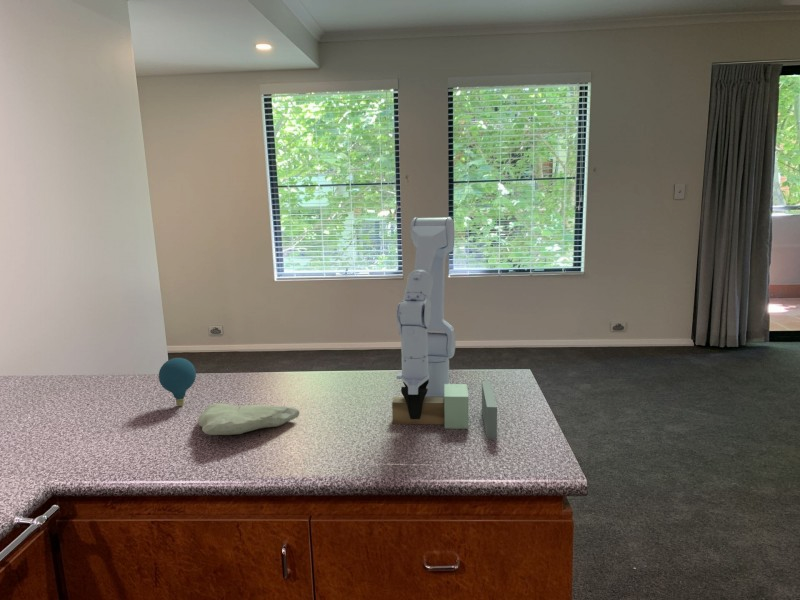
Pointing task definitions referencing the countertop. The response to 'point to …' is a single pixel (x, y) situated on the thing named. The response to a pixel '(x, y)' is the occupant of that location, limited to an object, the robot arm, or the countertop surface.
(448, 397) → the block
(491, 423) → the board
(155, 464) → the countertop surface
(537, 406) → the countertop surface
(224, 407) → the rock
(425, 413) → the bar
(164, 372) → the light bulb
